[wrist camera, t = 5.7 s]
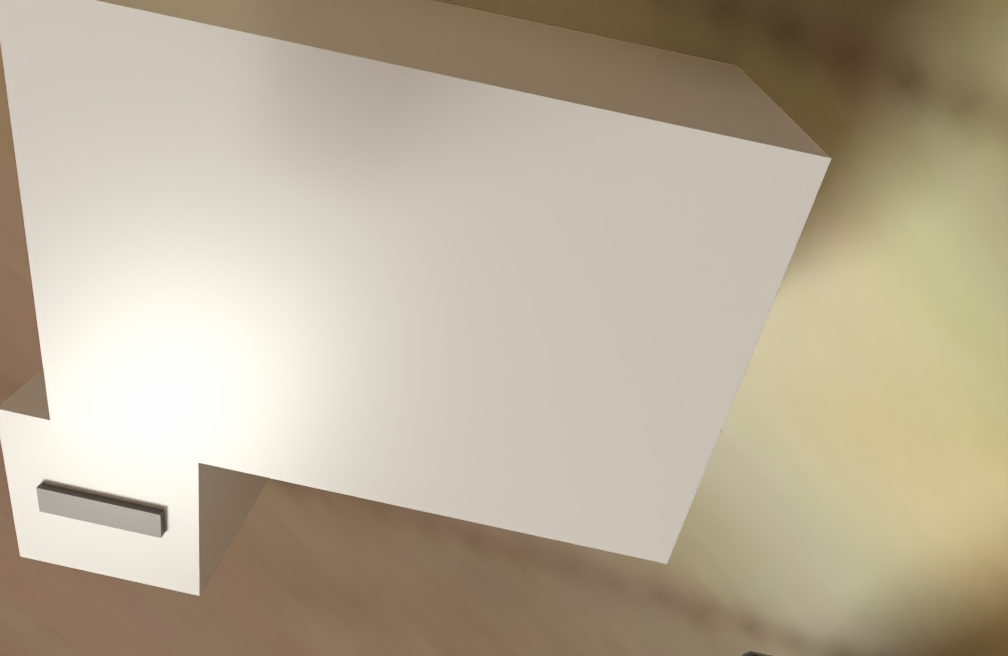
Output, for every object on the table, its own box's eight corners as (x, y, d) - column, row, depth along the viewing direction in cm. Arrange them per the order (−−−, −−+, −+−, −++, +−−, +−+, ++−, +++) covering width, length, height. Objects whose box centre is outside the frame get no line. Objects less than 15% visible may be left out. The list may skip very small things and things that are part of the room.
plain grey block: (642, 353, 21) (666, 563, 14) (228, 264, 21) (51, 430, 14) (736, 64, 18) (831, 158, 11) (231, -45, 18) (-9, -22, 11)
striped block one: (268, 477, 25) (196, 601, 20) (120, 445, 25) (15, 561, 20) (275, 344, 22) (194, 451, 18) (111, 308, 22) (-12, 406, 18)
